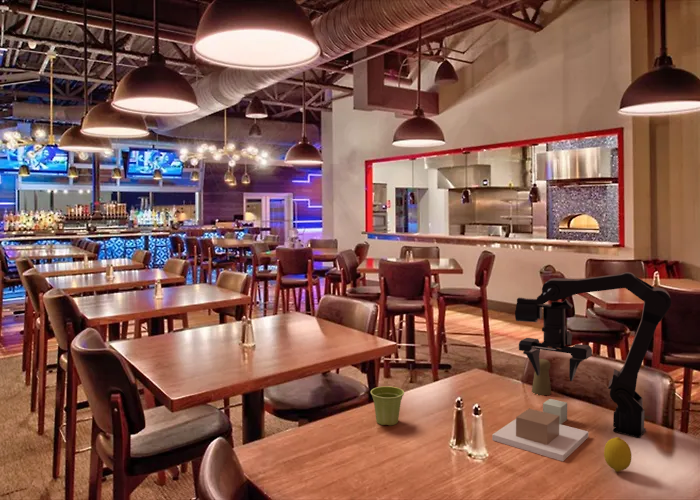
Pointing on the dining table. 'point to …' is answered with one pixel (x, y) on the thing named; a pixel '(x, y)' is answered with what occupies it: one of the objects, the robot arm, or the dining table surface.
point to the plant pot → (387, 404)
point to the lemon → (617, 454)
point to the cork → (542, 379)
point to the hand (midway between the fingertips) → (554, 378)
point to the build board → (545, 450)
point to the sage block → (556, 409)
